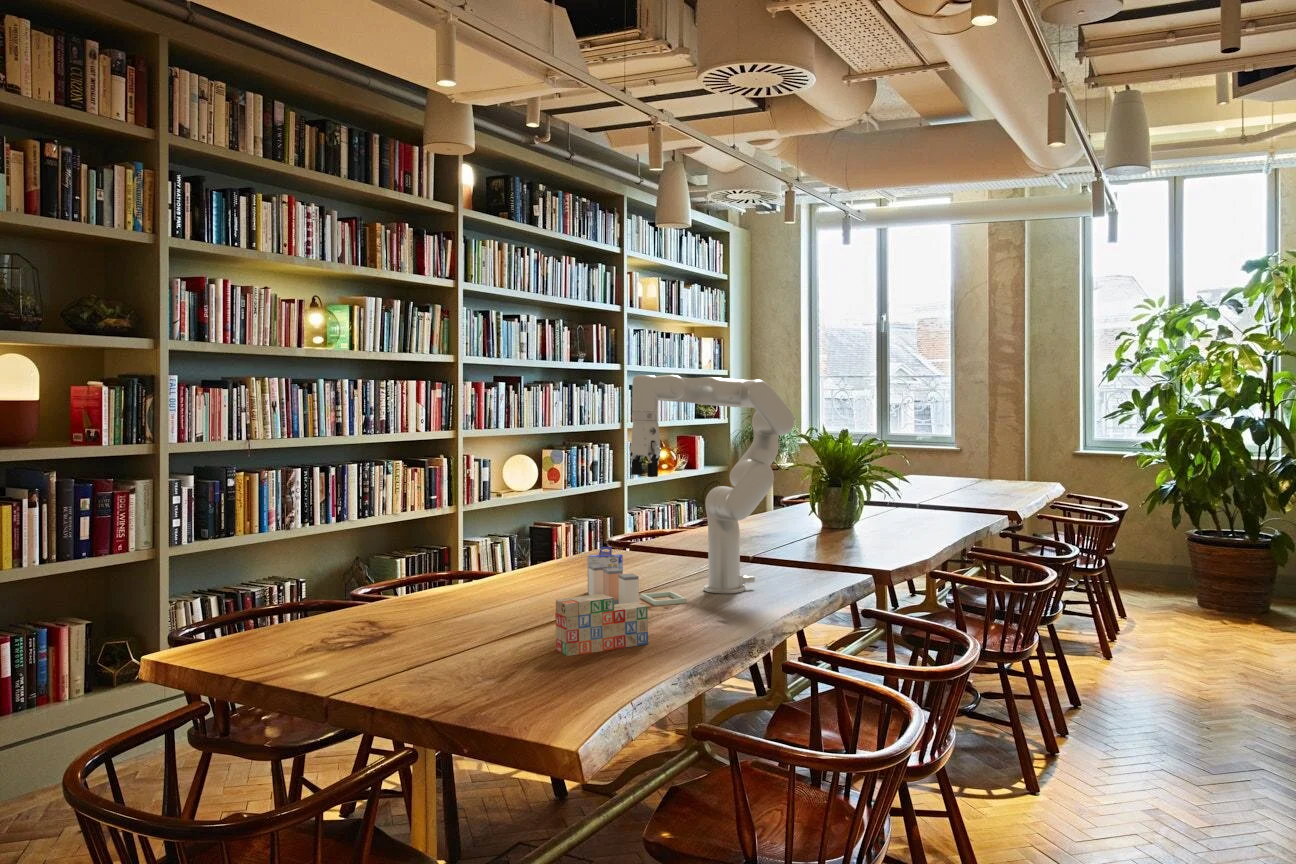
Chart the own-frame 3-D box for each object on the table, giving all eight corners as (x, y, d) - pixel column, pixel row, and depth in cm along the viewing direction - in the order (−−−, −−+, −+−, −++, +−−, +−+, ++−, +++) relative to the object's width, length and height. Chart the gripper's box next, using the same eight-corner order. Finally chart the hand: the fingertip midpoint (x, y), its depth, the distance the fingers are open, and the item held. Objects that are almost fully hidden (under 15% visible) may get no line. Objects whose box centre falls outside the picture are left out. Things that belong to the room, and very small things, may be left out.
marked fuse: (617, 602, 285) (616, 567, 284) (622, 605, 280) (622, 570, 280) (603, 603, 283) (603, 568, 283) (609, 606, 279) (608, 571, 278)
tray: (671, 599, 294) (671, 591, 294) (686, 607, 283) (686, 598, 283) (640, 602, 291) (640, 593, 291) (654, 610, 280) (654, 601, 280)
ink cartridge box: (623, 594, 303) (623, 546, 302) (619, 598, 297) (619, 549, 297) (591, 593, 305) (591, 545, 304) (587, 597, 299) (586, 548, 299)
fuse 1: (602, 598, 293) (601, 564, 292) (607, 601, 288) (607, 566, 288) (588, 599, 291) (588, 565, 291) (594, 602, 286) (593, 567, 286)
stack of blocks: (636, 639, 247) (635, 589, 246) (648, 644, 241) (648, 593, 241) (555, 650, 236) (555, 598, 236) (566, 656, 231) (566, 603, 230)
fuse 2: (632, 609, 277) (632, 573, 276) (638, 612, 272) (638, 576, 272) (618, 610, 275) (618, 574, 275) (624, 613, 271) (624, 577, 270)
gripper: (670, 417, 290) (670, 477, 291) (642, 417, 305) (641, 473, 306) (648, 417, 287) (647, 478, 287) (620, 417, 302) (619, 474, 302)
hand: (644, 475), depth 296 cm, fingers open, 9 cm apart
